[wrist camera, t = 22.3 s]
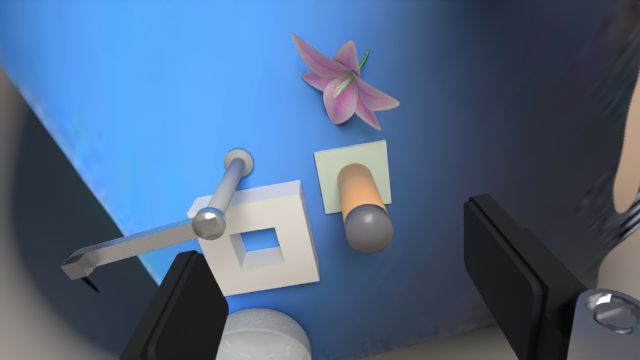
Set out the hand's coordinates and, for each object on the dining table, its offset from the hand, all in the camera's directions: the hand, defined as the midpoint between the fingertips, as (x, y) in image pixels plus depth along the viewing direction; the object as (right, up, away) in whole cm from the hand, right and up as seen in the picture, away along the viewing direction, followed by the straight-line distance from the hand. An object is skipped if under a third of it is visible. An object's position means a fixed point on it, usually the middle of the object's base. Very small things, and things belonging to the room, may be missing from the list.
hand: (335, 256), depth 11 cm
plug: (+4, +3, +30) cm, 31 cm away
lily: (+2, +15, +26) cm, 29 cm away
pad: (+4, +3, +31) cm, 31 cm away
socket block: (-9, -2, +33) cm, 34 cm away
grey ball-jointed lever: (-16, -3, +18) cm, 24 cm away
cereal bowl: (-11, -22, +43) cm, 50 cm away
